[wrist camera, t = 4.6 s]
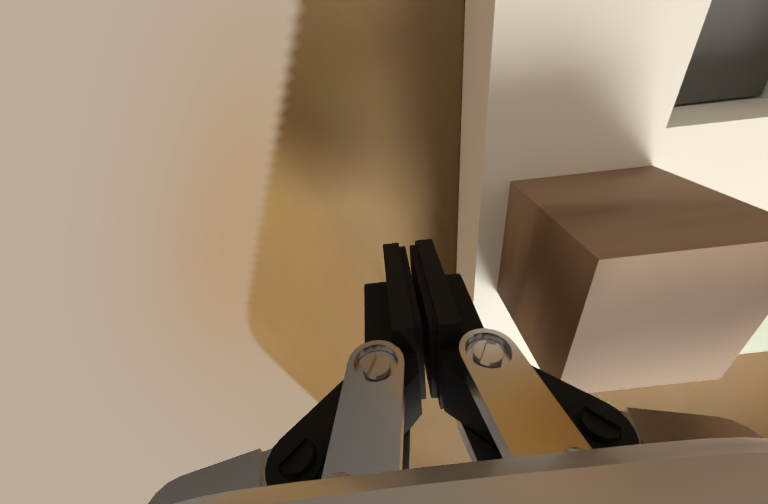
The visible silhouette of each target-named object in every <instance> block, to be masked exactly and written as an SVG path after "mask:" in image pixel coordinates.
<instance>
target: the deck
mask: <svg viewBox="0 0 768 504" xmlns="http://www.w3.org/2000/svg"><path fill="white" fill-rule="evenodd" d="M750 96H754V97H750ZM741 97H748V98H741ZM732 98H739V99H732ZM723 99H730V100H723ZM714 100H721V101H714ZM705 101H712V102H705ZM696 102H703V103H696ZM687 103H694V104H687ZM678 104H685V105H678ZM674 105H676V106H674ZM643 166H655V167H657V168H660V169H663V170H665V171H668V172H670V173H673V174H675V175H678V176H680V177H683V178H685V179H688V180H690V181H693V182H695V183H698V184H700V185H703V186H705V187H708V188H710V189H713V190H715V191H718V192H720V193H723V194H725V195H728V196H730V197H733V198H736V199H738V200H741V201H743V202H746V203H748V204H751V205H753V206H756V207H758V208H761V209H763V210H766V211H768V0H465V27H464V57H463V87H462V117H461V147H460V178H459V208H458V238H457V268H456V274H458V273H459V274H460V275H461V277H462V279H463V281H464V283H465V286H466V288H467V290H468V292H469V295H470V297H471V299H472V302H473V304H474V306H475V309H476V311H477V313H478V315H479V318H480V320H481V322H482V325H483V327H484V328H487V329H494V330H496V331H499V332H502V333H503V334H505V335H507V336H508V337H510V338H511V340H512V341H513V342H514V343H515V344H516V345H517V347H518V348H519V349H520V351H521V352H522V353H523V355H524V356H525V358H526V359H527V360H528V362H529V363H530V364H531V365H532V366H534V367H536V368H538V369H540V368H539V366H538V365H537V363H536V361H535V359H534V357H533V356H532V354H531V352H530V350H529V348H528V347H527V345H526V343H525V341H524V339H523V338H522V336H521V334H520V332H519V330H518V329H517V327H516V325H515V323H514V321H513V320H512V318H511V316H510V314H509V312H508V311H507V309H506V307H505V305H504V303H503V302H502V300H501V298H500V296H499V294H498V293H497V287H498V278H499V270H500V262H501V254H502V246H503V237H504V229H505V221H506V213H507V205H508V196H509V188H510V181H516V180H525V179H534V178H543V177H552V176H562V175H571V174H580V173H589V172H598V171H607V170H616V169H625V168H634V167H643ZM763 351H768V315H767V317H766V318H765V319H764V321H763V322H762V323H761V325H760V326H759V327H758V329H757V330H756V332H755V333H754V334H753V336H752V337H751V338H750V340H749V341H748V342H747V344H746V345H745V346H744V348H743V349H742V350H741V352H740V353H739V354H745V353H754V352H763Z"/></svg>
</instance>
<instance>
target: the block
mask: <svg viewBox="0 0 768 504" xmlns="http://www.w3.org/2000/svg"><path fill="white" fill-rule="evenodd" d="M497 293H498V294H499V296H500V298H501V300H502V302H503V303H504V305H505V307H506V309H507V311H508V312H509V314H510V316H511V318H512V320H513V321H514V323H515V325H516V327H517V329H518V330H519V332H520V334H521V336H522V338H523V339H524V341H525V343H526V345H527V347H528V348H529V350H530V352H531V354H532V356H533V357H534V359H535V361H536V363H537V365H538V366H539V368H540V370H542V371H544V372H546V373H548V374H550V375H552V376H554V377H556V378H558V379H560V380H562V381H564V382H566V383H568V384H570V385H572V386H574V387H576V388H578V389H580V390H582V391H584V392H586V393H594V392H603V391H612V390H622V389H631V388H640V387H650V386H659V385H668V384H677V383H687V382H696V381H705V380H715V379H721V377H722V376H723V375H724V373H725V372H726V371H727V369H728V368H729V367H730V365H731V364H732V362H733V361H734V360H735V358H736V357H737V356H738V354H739V353H740V352H741V350H742V349H743V348H744V346H745V345H746V344H747V342H748V341H749V340H750V338H751V337H752V336H753V334H754V333H755V332H756V330H757V329H758V327H759V326H760V325H761V323H762V322H763V321H764V319H765V318H766V317H767V315H768V211H766V210H763V209H761V208H758V207H756V206H753V205H751V204H748V203H746V202H743V201H741V200H738V199H736V198H733V197H730V196H728V195H725V194H723V193H720V192H718V191H715V190H713V189H710V188H708V187H705V186H703V185H700V184H698V183H695V182H693V181H690V180H688V179H685V178H683V177H680V176H678V175H675V174H673V173H670V172H668V171H665V170H663V169H660V168H657V167H655V166H643V167H634V168H625V169H616V170H607V171H598V172H589V173H580V174H571V175H562V176H552V177H543V178H534V179H525V180H516V181H510V188H509V196H508V205H507V213H506V221H505V229H504V237H503V246H502V254H501V262H500V270H499V278H498V287H497Z"/></svg>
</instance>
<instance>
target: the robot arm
mask: <svg viewBox="0 0 768 504" xmlns="http://www.w3.org/2000/svg"><path fill="white" fill-rule="evenodd" d="M383 251H384V261H385V271H386V281H387V282H380V283H371V284H365V287H364V294H365V343H364V344H362V345H360V346H359V347H358V348H356V349H355V350H354V351H353V353H352V354H351V355H350V358H349V360H348V363H347V368H346V372H345V376H344V380H343V381H342V382H341V383H340V384H339V385H337V386H336V387H335V388H334V389H333V390H332V391H331V392H330V393H329V394H328V395H327V396H326V397H325V398H324V399H323V400H321V401H320V402H319V403H318V404H317V405H316V406H315V407H314V408H313V409H312V410H311V411H310V412H309V413H308V414H307V415H306V416H304V417H303V418H302V419H301V420H300V421H299V422H298V423H297V424H296V425H295V426H294V427H293V428H292V429H291V430H289V431H288V432H287V433H286V434H285V435H284V436H283V437H282V438H281V439H280V440H279V441H278V443H277V444H276V445H275V446H274V447H273V448H272V449H270V450H267V451H264V452H262V450H261V449H257V450H254V451H251V452H248V453H246V454H243V455H240V456H237V457H235V458H232V459H229V460H226V461H223V462H220V463H217V464H214V465H212V466H209V467H206V468H203V469H200V470H197V471H194V472H191V473H189V474H186V475H183V476H180V477H178V478H176V479H174V480H172V481H170V482H168V483H167V484H166V485H165V486H163V487H162V488H161V489H160V490H159V491H158V492H157V493H156V494H155V495H154V497H153V498H152V499H151V501H150V502H149V503H148V504H768V438H762V437H761V436H759V435H758V434H756V433H755V432H753V431H752V430H751V429H749V428H748V427H745V426H743V425H741V424H739V423H737V422H735V421H733V420H729V419H724V418H720V417H713V416H704V415H694V414H685V413H675V412H666V411H656V410H646V409H637V408H627V409H626V411H625V412H623V411H619V410H617V409H616V408H614V407H613V406H611V405H609V404H608V403H606V402H604V401H602V400H600V399H598V398H596V397H594V396H592V395H590V394H588V393H586V392H584V391H582V390H580V389H578V388H576V387H574V386H572V385H570V384H568V383H566V382H564V381H562V380H560V379H558V378H556V377H554V376H552V375H550V374H548V373H546V372H544V371H542V370H540V369H538V368H536V367H534V366H532V365H531V364H530V363H529V362H528V360H527V359H526V358H525V356H524V355H523V353H522V352H521V351H520V349H519V348H518V347H517V345H516V344H515V343H514V342H513V341H512V340H511V338H510V337H508V336H507V335H505V334H503V333H502V332H499V331H496V330H494V329H487V328H484V327H483V325H482V322H481V320H480V318H479V315H478V313H477V311H476V309H475V306H474V304H473V302H472V299H471V297H470V295H469V292H468V290H467V288H466V286H465V283H464V281H463V279H462V277H461V275H460V274H459V273H458V274H449V275H445V274H444V271H443V269H442V266H441V263H440V261H439V258H438V255H437V252H436V250H435V247H434V244H433V241H432V239H426V240H418V241H415V245H411V246H410V259H411V271H410V267H409V262H408V257H407V253H406V248H405V246H402V247H399V243H392V244H383ZM411 274H412V276H411ZM424 363H425V368H426V373H427V379H428V384H429V389H430V394H431V398H437V397H438V400H439V405H440V409H443V408H444V410H445V412H447V413H448V414H450V415H451V416H453V417H454V418H455V419H456V421H457V425H458V429H459V431H460V433H461V436H462V438H463V441H464V443H465V446H466V448H467V451H468V453H469V455H470V458H471V460H472V462H468V463H459V464H450V465H441V466H432V467H423V468H414V469H411V435H412V432H411V427H412V426H413V424H414V423H415V422H416V421H417V419H418V418H419V417H420V416H421V414H422V406H421V399H426V387H425V368H424Z"/></svg>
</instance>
